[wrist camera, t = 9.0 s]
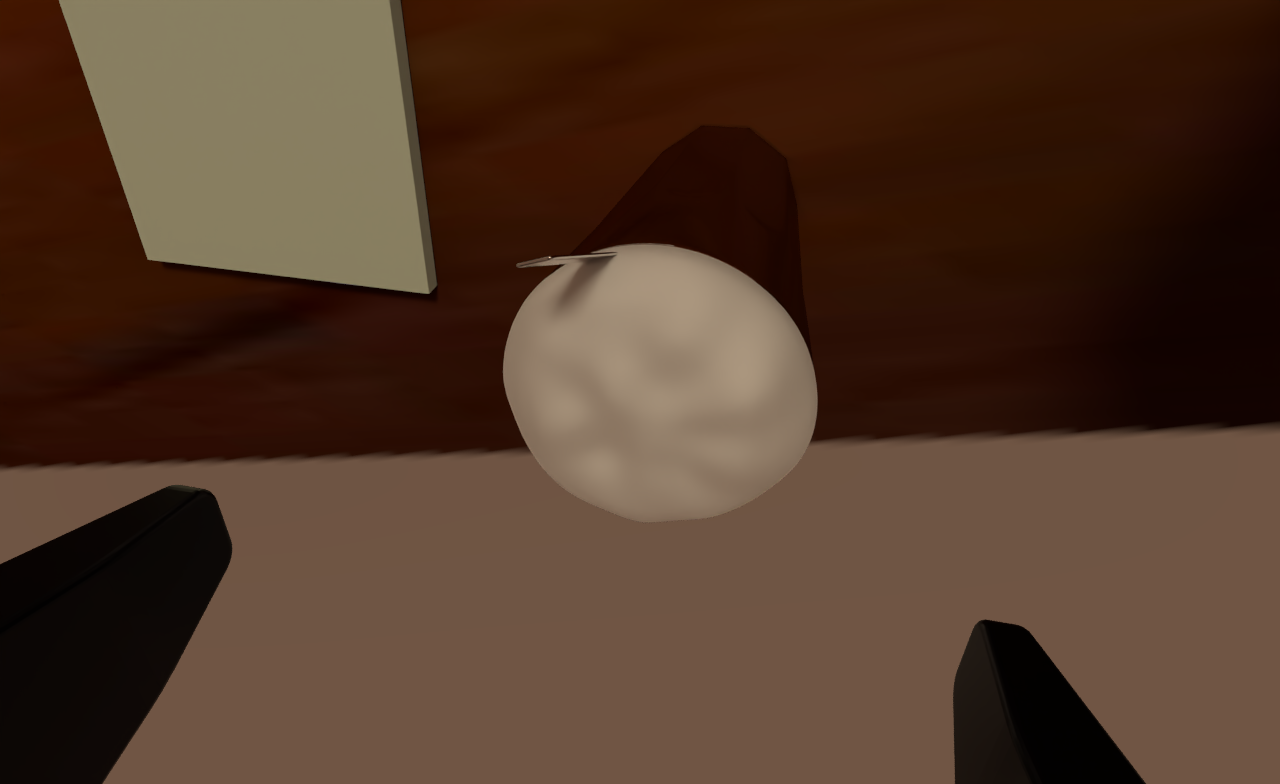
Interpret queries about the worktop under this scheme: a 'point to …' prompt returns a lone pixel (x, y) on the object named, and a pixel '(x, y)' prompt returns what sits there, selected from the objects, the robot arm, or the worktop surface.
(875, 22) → the worktop surface
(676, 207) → the milkshake
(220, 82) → the mat
